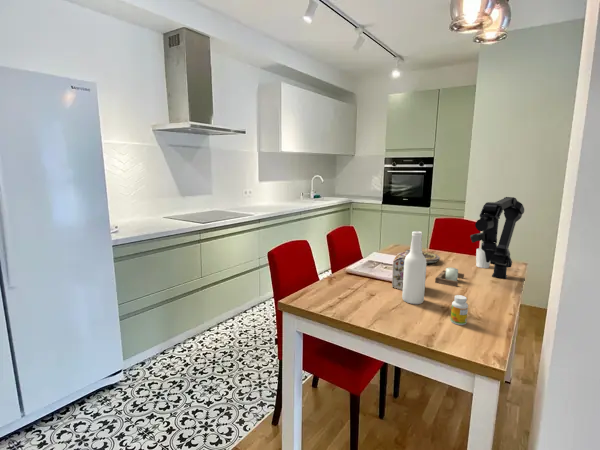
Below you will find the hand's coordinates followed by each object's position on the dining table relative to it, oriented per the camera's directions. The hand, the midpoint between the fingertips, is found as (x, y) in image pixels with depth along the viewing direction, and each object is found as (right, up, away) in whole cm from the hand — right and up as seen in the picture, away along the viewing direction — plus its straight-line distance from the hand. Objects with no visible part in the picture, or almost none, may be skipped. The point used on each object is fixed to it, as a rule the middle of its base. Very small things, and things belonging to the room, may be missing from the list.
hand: (487, 259), depth 164 cm
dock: (-17, -11, +5) cm, 21 cm away
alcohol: (-44, -15, -21) cm, 51 cm away
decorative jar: (-41, -13, -5) cm, 43 cm away
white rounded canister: (-16, -11, +5) cm, 20 cm away
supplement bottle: (-34, -19, -41) cm, 56 cm away
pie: (-18, -6, +40) cm, 45 cm away
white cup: (+13, -7, +29) cm, 33 cm away
